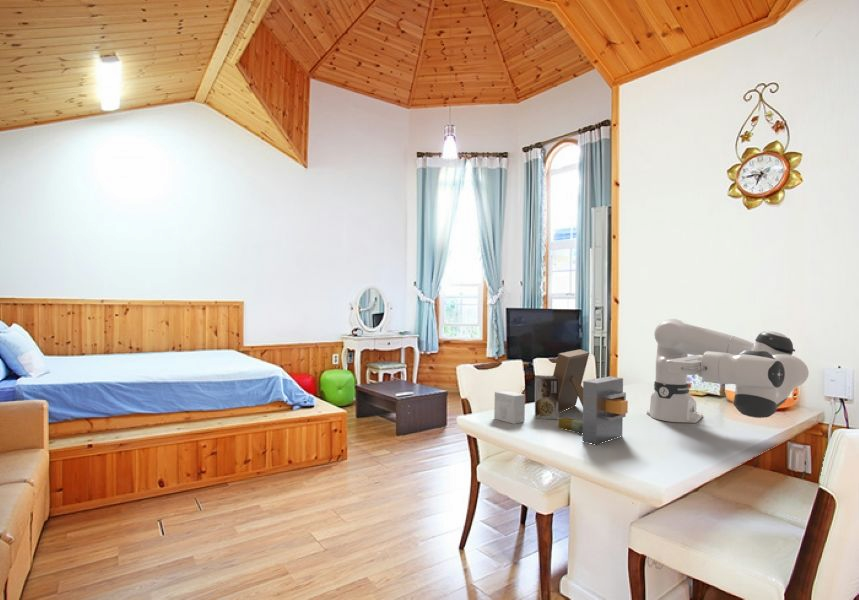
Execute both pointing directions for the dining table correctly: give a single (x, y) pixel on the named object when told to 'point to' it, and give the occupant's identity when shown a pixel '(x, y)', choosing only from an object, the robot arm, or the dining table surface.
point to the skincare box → (509, 407)
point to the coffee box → (546, 397)
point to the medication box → (571, 424)
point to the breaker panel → (601, 409)
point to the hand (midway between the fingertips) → (664, 361)
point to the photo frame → (570, 377)
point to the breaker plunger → (616, 406)
